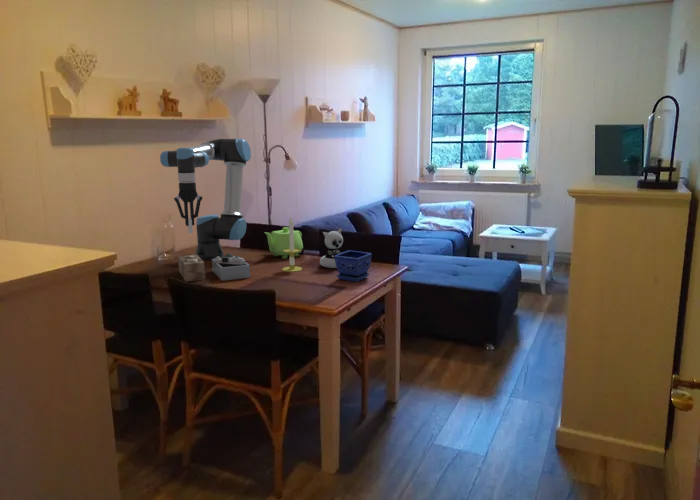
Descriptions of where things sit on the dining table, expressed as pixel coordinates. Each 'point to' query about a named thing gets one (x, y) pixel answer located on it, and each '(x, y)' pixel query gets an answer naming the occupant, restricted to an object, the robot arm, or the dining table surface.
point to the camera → (230, 261)
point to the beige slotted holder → (191, 267)
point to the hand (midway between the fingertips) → (190, 232)
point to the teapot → (283, 242)
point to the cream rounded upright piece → (192, 260)
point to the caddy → (231, 271)
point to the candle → (291, 251)
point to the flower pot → (353, 265)
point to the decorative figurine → (332, 248)
